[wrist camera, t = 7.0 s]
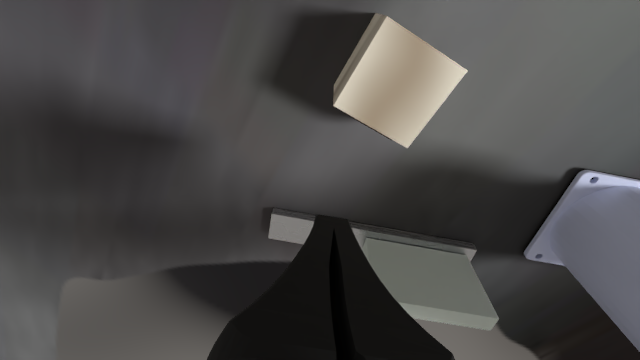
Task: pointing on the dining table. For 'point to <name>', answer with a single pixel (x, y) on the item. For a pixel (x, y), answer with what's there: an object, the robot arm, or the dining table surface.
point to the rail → (361, 233)
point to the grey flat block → (432, 284)
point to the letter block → (394, 81)
